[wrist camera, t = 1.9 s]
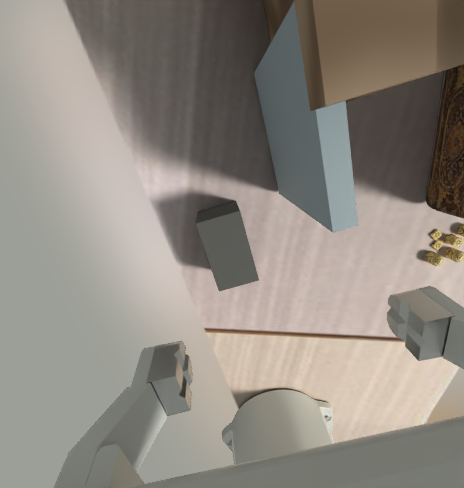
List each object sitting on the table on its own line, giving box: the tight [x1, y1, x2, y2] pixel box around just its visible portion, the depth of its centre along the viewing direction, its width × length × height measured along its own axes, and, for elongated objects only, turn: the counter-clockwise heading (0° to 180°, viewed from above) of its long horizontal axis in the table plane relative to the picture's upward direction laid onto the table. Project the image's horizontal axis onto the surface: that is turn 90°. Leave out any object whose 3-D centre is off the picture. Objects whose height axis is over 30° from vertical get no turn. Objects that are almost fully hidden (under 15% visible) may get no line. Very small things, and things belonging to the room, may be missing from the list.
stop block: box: [196, 201, 259, 291], centre depth 29 cm, size 8×4×5 cm, turn 16°
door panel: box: [254, 2, 358, 232], centre depth 20 cm, size 12×2×14 cm, turn 16°
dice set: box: [424, 225, 464, 266], centre depth 33 cm, size 5×5×2 cm
